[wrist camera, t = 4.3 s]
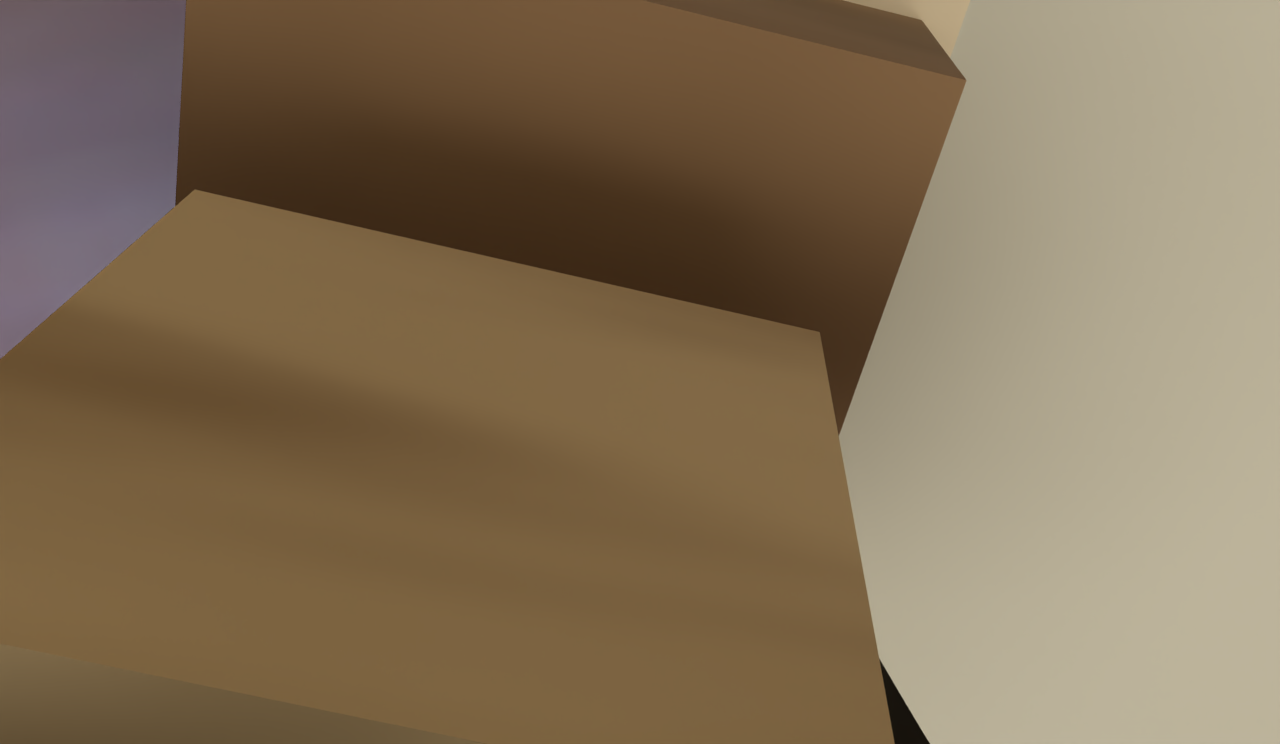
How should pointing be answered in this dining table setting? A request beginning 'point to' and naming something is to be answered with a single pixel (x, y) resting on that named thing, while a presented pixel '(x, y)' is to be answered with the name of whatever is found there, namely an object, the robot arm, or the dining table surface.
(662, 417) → the light wooden cube
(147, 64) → the dining table surface
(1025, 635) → the plain cream board
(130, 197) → the dining table surface
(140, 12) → the dining table surface
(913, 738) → the robot arm
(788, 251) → the walnut slab
